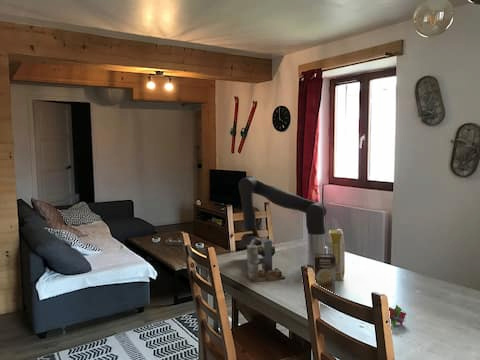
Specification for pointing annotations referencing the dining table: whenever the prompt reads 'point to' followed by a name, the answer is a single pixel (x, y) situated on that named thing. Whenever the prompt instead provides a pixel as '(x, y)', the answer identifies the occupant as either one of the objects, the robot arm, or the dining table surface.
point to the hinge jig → (253, 267)
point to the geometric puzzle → (396, 315)
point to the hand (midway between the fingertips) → (268, 254)
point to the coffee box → (325, 270)
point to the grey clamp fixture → (266, 255)
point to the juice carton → (337, 251)
